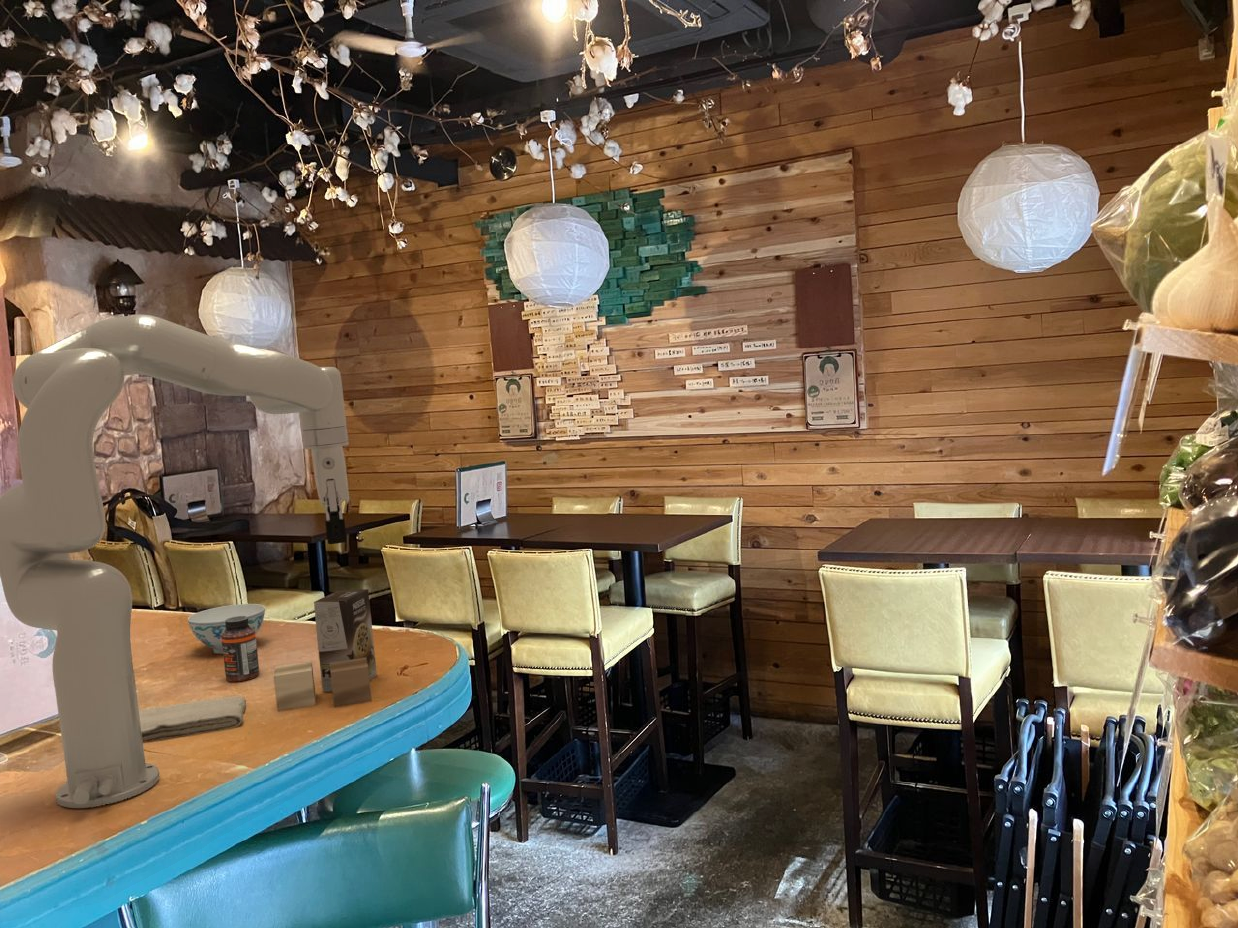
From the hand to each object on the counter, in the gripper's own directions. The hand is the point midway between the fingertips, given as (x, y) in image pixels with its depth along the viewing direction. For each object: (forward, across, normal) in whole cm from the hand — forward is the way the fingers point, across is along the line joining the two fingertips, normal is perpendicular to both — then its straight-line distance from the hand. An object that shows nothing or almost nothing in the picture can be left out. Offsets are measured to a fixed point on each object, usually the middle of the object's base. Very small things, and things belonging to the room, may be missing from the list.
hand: (337, 542), depth 172 cm
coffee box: (+26, 0, 0) cm, 26 cm away
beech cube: (+25, -6, +10) cm, 28 cm away
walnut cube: (+25, -10, 0) cm, 27 cm away
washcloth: (+26, -9, +26) cm, 38 cm away
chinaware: (+26, +38, +24) cm, 52 cm away
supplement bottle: (+26, +14, +20) cm, 35 cm away
